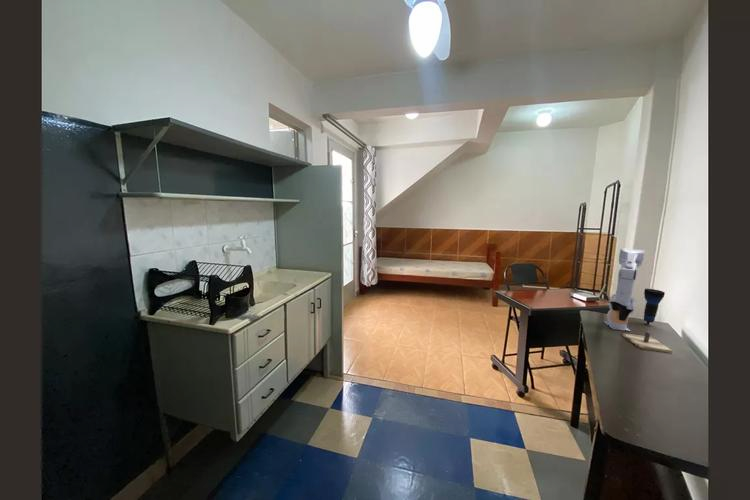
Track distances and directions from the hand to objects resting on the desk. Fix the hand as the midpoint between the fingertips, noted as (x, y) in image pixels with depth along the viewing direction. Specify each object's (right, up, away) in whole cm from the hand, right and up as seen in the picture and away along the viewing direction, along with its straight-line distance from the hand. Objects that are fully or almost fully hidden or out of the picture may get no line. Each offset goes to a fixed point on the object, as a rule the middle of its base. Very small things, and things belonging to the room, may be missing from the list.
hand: (618, 318), depth 139 cm
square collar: (0, -2, 0) cm, 2 cm away
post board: (+8, -11, -6) cm, 14 cm away
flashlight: (+32, -8, +18) cm, 38 cm away
